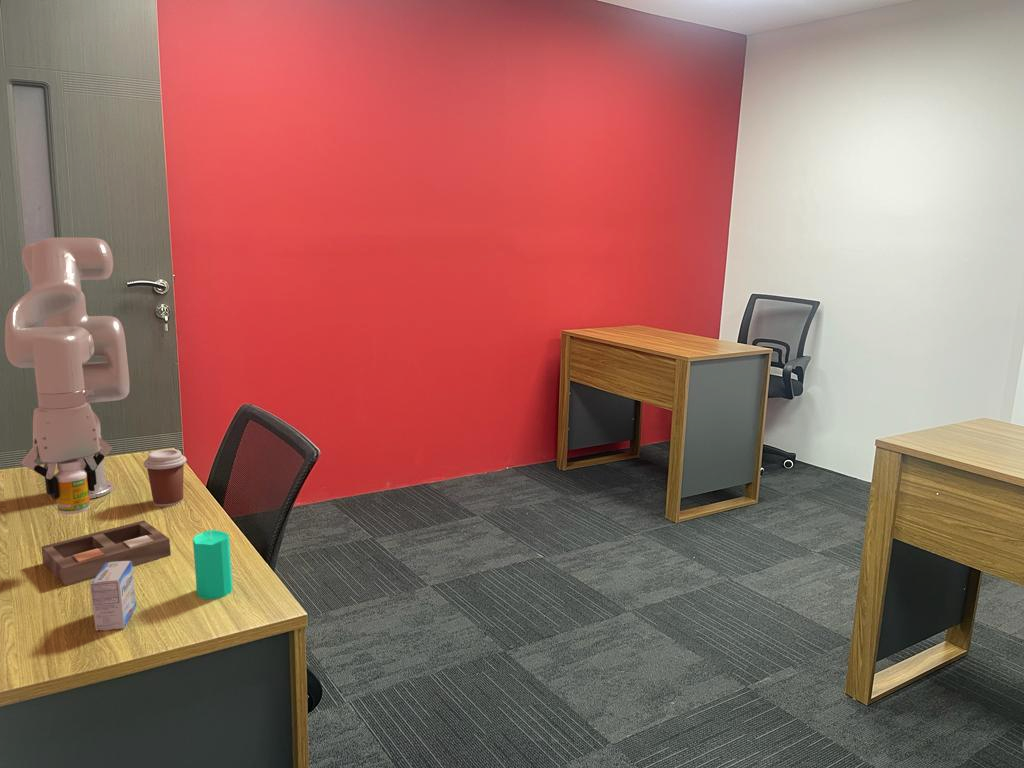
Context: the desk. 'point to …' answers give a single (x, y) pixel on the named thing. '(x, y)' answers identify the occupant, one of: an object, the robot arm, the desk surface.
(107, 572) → the medicine box
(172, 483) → the coffee cup
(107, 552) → the socket block
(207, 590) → the candle
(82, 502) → the supplement bottle
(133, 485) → the desk surface
